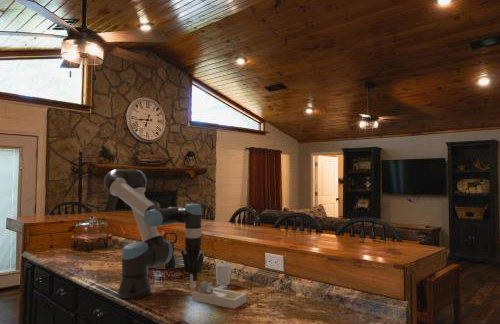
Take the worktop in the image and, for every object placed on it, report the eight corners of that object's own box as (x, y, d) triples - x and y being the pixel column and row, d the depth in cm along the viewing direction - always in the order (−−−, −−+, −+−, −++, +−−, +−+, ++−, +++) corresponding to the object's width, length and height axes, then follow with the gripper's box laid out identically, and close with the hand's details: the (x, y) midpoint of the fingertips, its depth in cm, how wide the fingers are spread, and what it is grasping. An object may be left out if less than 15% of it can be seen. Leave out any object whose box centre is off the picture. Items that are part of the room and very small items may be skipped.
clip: (198, 293, 171) (199, 283, 171) (205, 290, 175) (205, 281, 175) (206, 295, 169) (206, 284, 169) (212, 292, 172) (212, 282, 173)
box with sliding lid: (192, 299, 169) (192, 291, 169) (205, 293, 178) (205, 286, 178) (234, 308, 158) (234, 300, 158) (246, 302, 167) (246, 293, 167)
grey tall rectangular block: (211, 293, 178) (211, 289, 179) (221, 289, 185) (221, 285, 185) (217, 294, 177) (218, 290, 177) (227, 290, 184) (227, 286, 184)
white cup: (213, 285, 192) (213, 265, 192) (219, 281, 199) (219, 262, 200) (227, 286, 189) (227, 266, 190) (233, 282, 197) (233, 263, 197)
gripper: (177, 236, 176) (176, 287, 175) (199, 239, 170) (199, 291, 169) (187, 234, 183) (187, 283, 182) (209, 236, 176) (208, 287, 175)
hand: (192, 287), depth 175 cm, fingers closed
